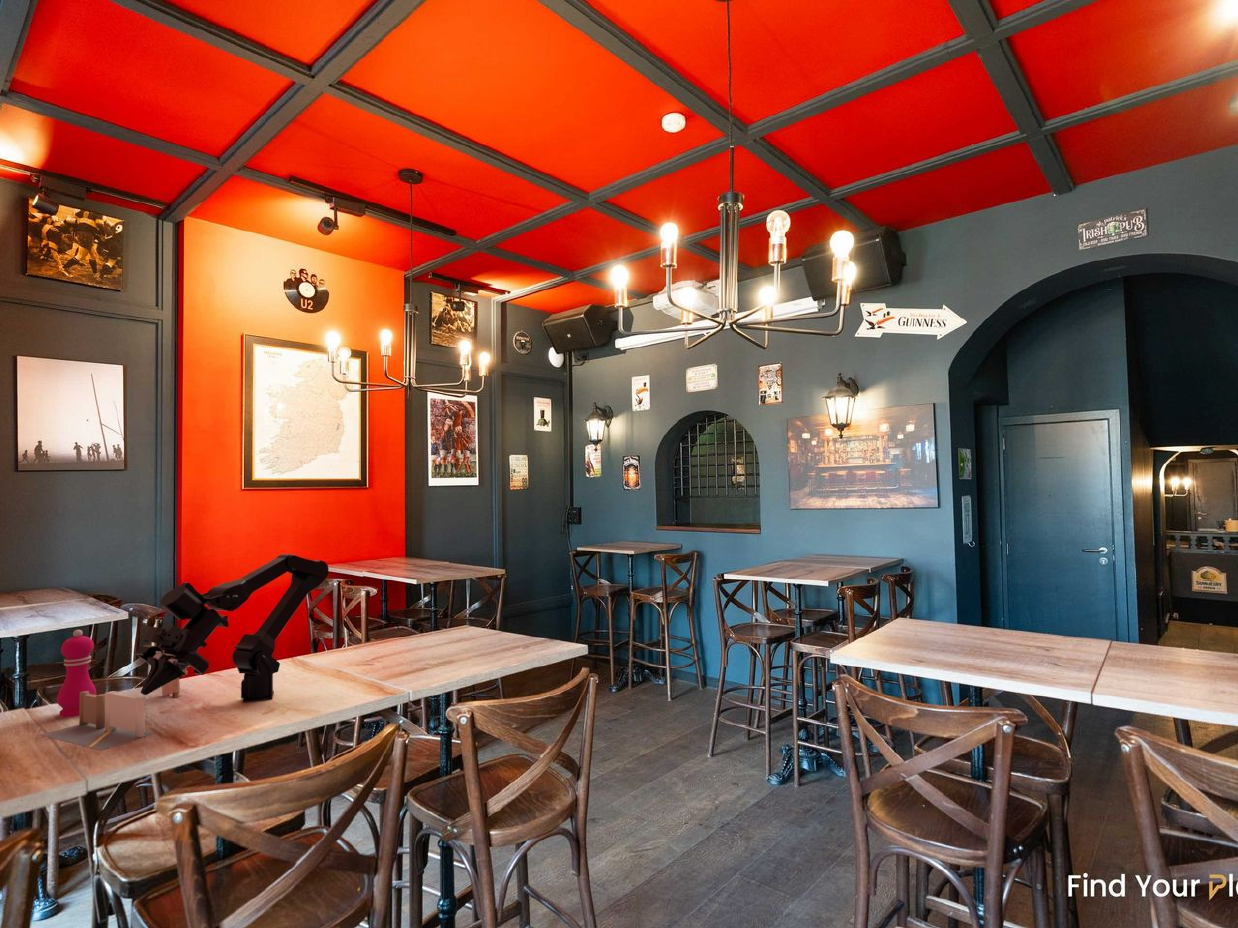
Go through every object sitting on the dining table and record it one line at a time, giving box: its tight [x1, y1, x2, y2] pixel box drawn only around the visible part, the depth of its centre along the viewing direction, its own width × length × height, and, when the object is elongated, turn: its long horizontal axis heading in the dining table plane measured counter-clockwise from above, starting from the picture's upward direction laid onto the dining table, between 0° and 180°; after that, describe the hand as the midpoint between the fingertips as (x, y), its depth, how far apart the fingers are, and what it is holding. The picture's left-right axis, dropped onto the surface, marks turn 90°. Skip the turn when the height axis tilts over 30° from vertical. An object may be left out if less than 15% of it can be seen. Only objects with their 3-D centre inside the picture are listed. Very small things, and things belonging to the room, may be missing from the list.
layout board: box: [41, 691, 155, 751], centre depth 141 cm, size 23×10×8 cm, turn 64°
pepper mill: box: [56, 629, 97, 718], centre depth 157 cm, size 7×7×20 cm
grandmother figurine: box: [161, 650, 189, 699], centre depth 171 cm, size 8×4×13 cm, turn 149°
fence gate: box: [104, 690, 146, 738], centre depth 141 cm, size 12×2×8 cm, turn 64°
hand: (143, 693), depth 144 cm, fingers closed
